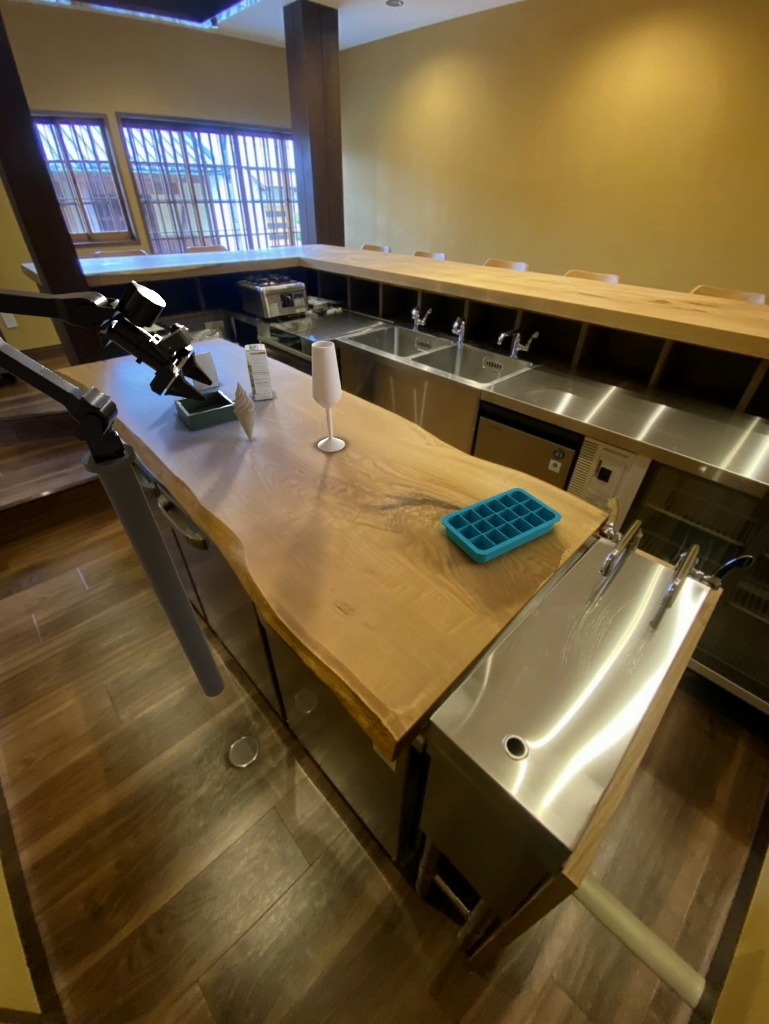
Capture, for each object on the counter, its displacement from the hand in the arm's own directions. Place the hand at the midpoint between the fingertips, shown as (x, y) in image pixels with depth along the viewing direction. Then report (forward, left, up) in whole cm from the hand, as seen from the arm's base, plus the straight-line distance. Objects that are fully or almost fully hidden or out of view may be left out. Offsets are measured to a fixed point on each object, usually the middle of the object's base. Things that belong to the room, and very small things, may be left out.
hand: (208, 391), depth 97 cm
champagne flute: (+21, -17, -13) cm, 30 cm away
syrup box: (+20, +21, -13) cm, 32 cm away
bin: (+2, +17, -13) cm, 21 cm away
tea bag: (+9, +39, -13) cm, 42 cm away
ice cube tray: (+30, -64, -13) cm, 72 cm away
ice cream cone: (+6, -3, -13) cm, 15 cm away
